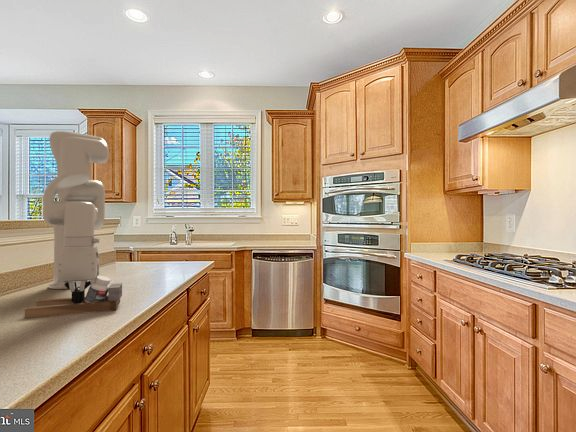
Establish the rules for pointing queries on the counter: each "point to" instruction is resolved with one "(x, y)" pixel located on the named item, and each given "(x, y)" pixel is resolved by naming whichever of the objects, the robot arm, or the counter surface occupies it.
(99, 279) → the pill bottle
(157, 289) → the counter surface
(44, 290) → the counter surface
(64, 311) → the beam
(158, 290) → the counter surface
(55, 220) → the robot arm
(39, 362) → the counter surface
